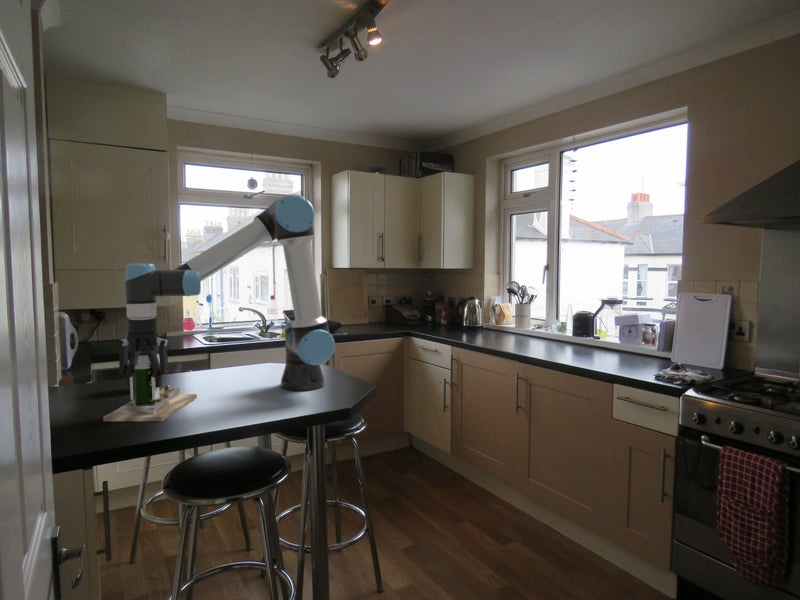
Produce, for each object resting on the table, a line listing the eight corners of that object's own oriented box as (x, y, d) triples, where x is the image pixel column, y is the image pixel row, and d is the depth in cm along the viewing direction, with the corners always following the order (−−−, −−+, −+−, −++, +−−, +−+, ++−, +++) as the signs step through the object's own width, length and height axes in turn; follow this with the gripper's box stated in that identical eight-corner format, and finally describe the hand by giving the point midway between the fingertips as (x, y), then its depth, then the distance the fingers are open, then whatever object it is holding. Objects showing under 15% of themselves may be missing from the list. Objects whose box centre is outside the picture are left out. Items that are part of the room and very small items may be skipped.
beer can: (132, 408, 142) (131, 366, 141) (137, 403, 147) (135, 362, 146) (153, 406, 143) (152, 365, 142) (157, 401, 148) (156, 361, 147)
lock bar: (175, 393, 162) (175, 383, 162) (163, 400, 154) (163, 389, 154) (168, 393, 162) (167, 383, 162) (156, 400, 154) (155, 389, 154)
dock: (196, 397, 162) (196, 388, 162) (162, 421, 138) (161, 409, 138) (146, 397, 162) (146, 388, 162) (103, 421, 138) (102, 409, 138)
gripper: (180, 316, 147) (183, 395, 149) (116, 316, 147) (120, 395, 149) (168, 319, 139) (171, 402, 141) (101, 319, 139) (105, 402, 141)
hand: (145, 398), depth 145 cm, fingers open, 5 cm apart
